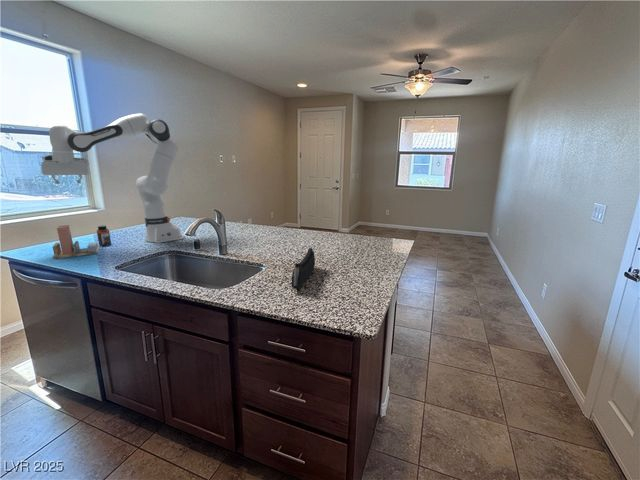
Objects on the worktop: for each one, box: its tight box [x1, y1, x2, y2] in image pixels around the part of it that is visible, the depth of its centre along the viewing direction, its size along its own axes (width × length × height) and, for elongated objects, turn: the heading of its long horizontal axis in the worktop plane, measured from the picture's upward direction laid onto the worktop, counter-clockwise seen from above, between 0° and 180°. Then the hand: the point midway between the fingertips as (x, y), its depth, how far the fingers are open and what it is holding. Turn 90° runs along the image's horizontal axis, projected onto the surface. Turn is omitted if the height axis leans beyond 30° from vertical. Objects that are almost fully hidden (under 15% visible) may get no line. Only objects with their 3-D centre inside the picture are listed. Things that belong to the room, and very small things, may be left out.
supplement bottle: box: [96, 224, 112, 247], centre depth 181 cm, size 6×6×11 cm
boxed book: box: [56, 225, 74, 254], centre depth 162 cm, size 4×6×14 cm
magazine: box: [290, 247, 316, 291], centre depth 135 cm, size 17×3×30 cm
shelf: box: [52, 242, 100, 259], centre depth 165 cm, size 19×10×6 cm, turn 119°
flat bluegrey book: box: [86, 241, 99, 252], centre depth 169 cm, size 4×8×3 cm, turn 29°
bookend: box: [73, 240, 88, 254], centre depth 165 cm, size 5×8×5 cm, turn 29°
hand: (68, 183), depth 171 cm, fingers open, 8 cm apart
